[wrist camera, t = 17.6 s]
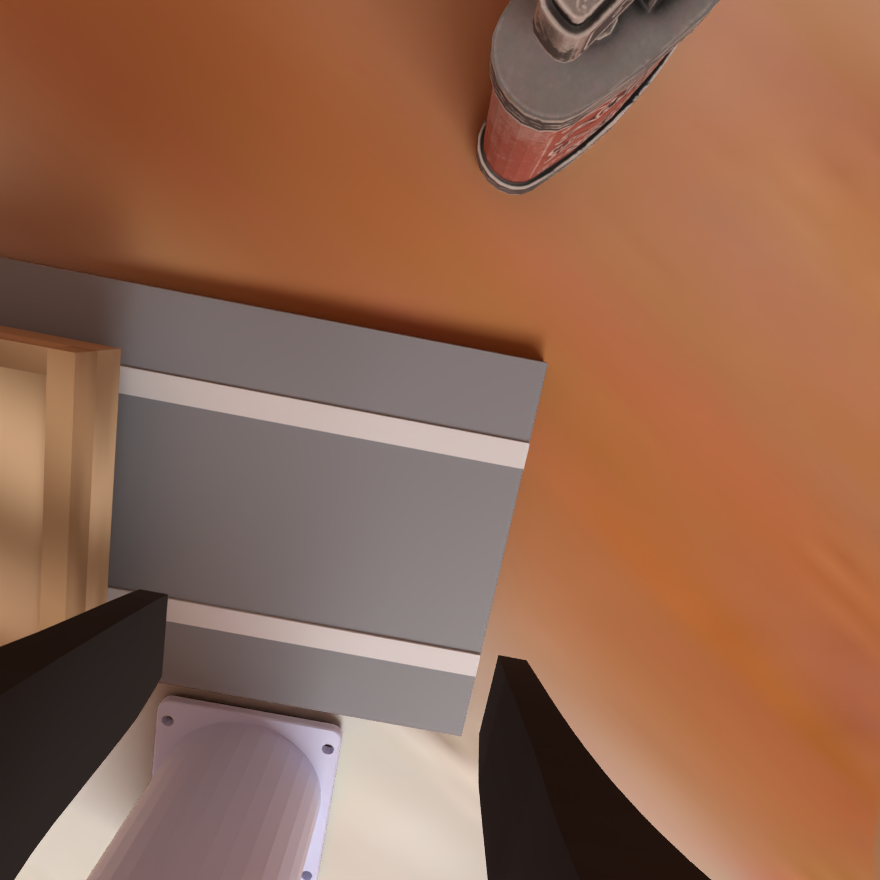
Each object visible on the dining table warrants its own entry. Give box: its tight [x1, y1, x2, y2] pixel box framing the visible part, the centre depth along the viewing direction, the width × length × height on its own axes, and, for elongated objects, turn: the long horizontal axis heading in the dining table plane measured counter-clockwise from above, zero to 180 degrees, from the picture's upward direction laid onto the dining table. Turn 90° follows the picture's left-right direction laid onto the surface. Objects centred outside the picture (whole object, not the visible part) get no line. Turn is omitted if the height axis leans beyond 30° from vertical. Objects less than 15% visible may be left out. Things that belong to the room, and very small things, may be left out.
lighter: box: [477, 0, 720, 194], centre depth 14 cm, size 8×3×10 cm, turn 134°
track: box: [0, 257, 548, 736], centre depth 22 cm, size 16×30×1 cm, turn 79°
